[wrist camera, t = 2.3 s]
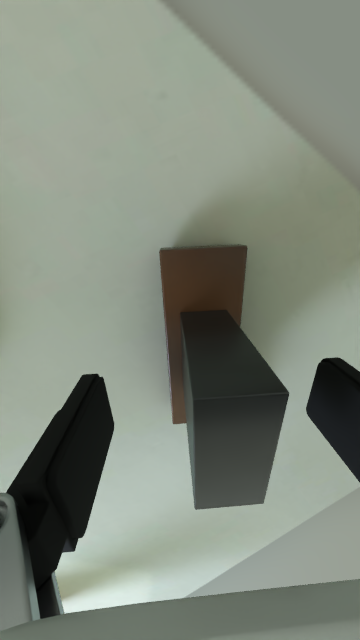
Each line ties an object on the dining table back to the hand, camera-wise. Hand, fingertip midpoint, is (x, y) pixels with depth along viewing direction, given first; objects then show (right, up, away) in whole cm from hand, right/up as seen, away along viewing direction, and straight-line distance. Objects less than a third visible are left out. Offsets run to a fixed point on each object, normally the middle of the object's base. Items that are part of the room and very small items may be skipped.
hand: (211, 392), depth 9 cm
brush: (0, +2, +4) cm, 4 cm away
